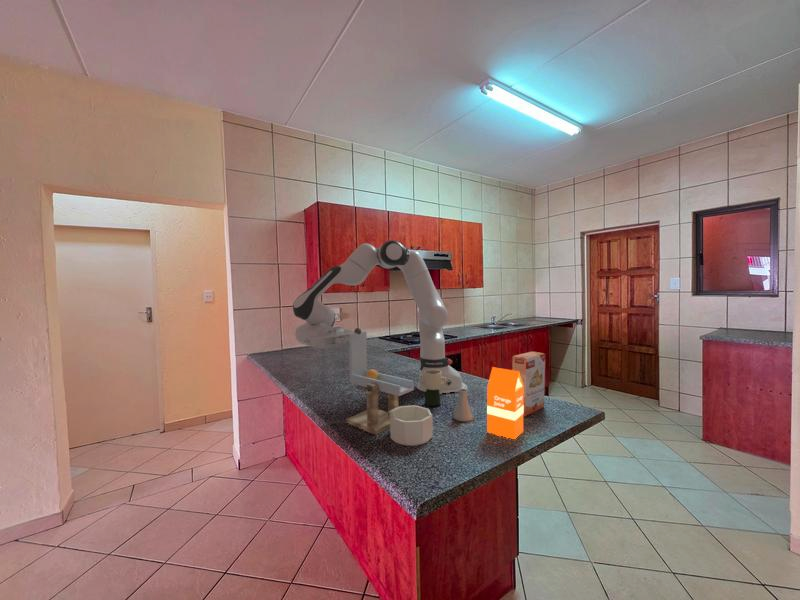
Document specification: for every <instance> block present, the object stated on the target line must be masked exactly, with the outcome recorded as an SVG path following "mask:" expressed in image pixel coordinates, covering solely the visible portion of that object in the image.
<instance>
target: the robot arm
mask: <svg viewBox="0 0 800 600" xmlns="http://www.w3.org/2000/svg"><path fill="white" fill-rule="evenodd" d="M375 267H378V268H381V269H384V270H391V269H394V268H398V269H399V270H400V271H401V272H402V273H403V277H404V280H405V283H406V284H407V285H406V286H407V287H408V290H409V292H410V295H411V296H412V298H413V301H414V303H415V304H416V306H417V309H418V310H417V316H418V317H417V318H418V319H417V320H418V330H419V342H420V344H419V345H420V348H419V349H420V356H419V361H418V362H419V363H418V364H419V365H418V366H419V375H424V371H425V370H429V369H435V370H440V371H441V372H442V377H446V385H445V386H444V385H442V386H441V388H440V389H439V393H440V395H443V394H442V393H446V394H451V393H450V392H455V393H459V391H458V389H467V390H468V385H467V384H466V383H465V382H463V379H462V376H461V374H460V373H459V371H457V370H456V369H455V368H453V367H452V366H451V365H452V364H453V360H451V358H449V357H446V349H445V348H446V346H445V345H446V341H445V340H446V339H445V336H444V331H443V330H444V329H443V327H445V325H446V324H447V323H448V321H449V318H450V317H449V311H448V310H447V307H446V306H445V304H444V302H443V299H442V297H441V296H440V294H439V292H438V291H437V288H436V286H435V284H434V282H433V280H432V277H431V274H430V271H429V269H428V266H427V264H426V263H425V260H424V259H423V257H422V255H421V253H420V252H419V251H417V250H409V249H407V248H406V247H405V246H404V245H403V244H402V243H401V242H400V241H398V240H395V239H392V240H387V241H385V242H384V243H383V244H382V245H380V247H375V246H373V245H372V244H370V243H366V242H365V243H361V244H360V245H359V246H358V247H357V248H356V249H355V250H354V251H353V252H352V253H351V254H350V255H349V256H348V257H347V259H346V260H345V261H344V262H343V263H342V264H340V265H334V266H332V267H331V268H328V270H327V271H325V273H324V274H322V275H321V277H319V278H318V279H317V280H316V281H315V282H314V283H313V284H312V285H311V286H310V287H309V288H308V289H306V291H304V292H303V293H301V295H299V296H298V297H297V298H296V299H295V300H294V301H293V303H292V310H293V314H294V316H295V317H296V318H299V319H300V320H303V321H305V323H303V324H301V325H299V326H297V327H296V329H295V332H294V335H295V338H296V340H297V341H298V342H299V344H302V345H304V346H308V347H310V348H314V349H323V350H329V349H331V348H333V347H335V346H338V345H344V344H345V345H346V344H349V334H351V333H355V332H354V331H355V330H350V329H344V327H342V326H341V327H335V326H334V324H335V322H336V313H335V310H333V309H332V308H330V307H329V306H327V305H326V304H324V303H323V302H321V301H320V300H319V298H320V296H322V295H323V294H324V293H325V292H326V291H327V290H328V289H329V288H330V287H331V286H332V285H334V284H341V285H342V284H343V285H346V286H358V285H360V284H362V283H363V282H364V281H365V280H366V278H367V277H368V276H369V274H370V273H371V272H372V270H373V269H374V268H375ZM422 381H424V378H423V377H422ZM442 383H444V379H442ZM416 389H418V390H419V391H421V392H424V393H426V390H427V389H426V388H424V383H420V382H419V381H417V385H416Z"/></svg>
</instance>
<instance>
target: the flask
mask: <svg viewBox="0 0 800 600" xmlns="http://www.w3.org/2000/svg"><path fill="white" fill-rule="evenodd" d="M458 391H459V392H458V393H459V395H458V399H457V402H456V405H455V408H454V410H453V413H452V417H453V420H456V421H458V422H470V421H473V420H475V418H474V415H473V413H472V411H471V407H470V403H469V400H468V391H469V390H468V388H467V389H458Z"/></svg>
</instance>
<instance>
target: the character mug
mask: <svg viewBox="0 0 800 600" xmlns="http://www.w3.org/2000/svg"><path fill="white" fill-rule="evenodd" d="M422 377H423V378H424V381H422ZM442 379H444V383H442ZM418 382H420V383H424V388H426V389H427V390H426V392H425V396H424V403H425V404H426V406H427V405H428V406H430V407H431V406H432V407H434V406H439V405H441V394H440V393H439V389H440V388H441V386H442V385H444V386H445V385H446V377H442V372H441V371H440V370H435V369H429V370H425V371H424V375H420V374H419V376H418Z"/></svg>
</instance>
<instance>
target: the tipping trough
mask: <svg viewBox="0 0 800 600" xmlns="http://www.w3.org/2000/svg"><path fill="white" fill-rule="evenodd" d="M353 331H354V332H355V333H351V334H349V343H348V346H349V348H348V350H349V352H348V353H349V355H348V358H349V361H348V362H349V365H348V367H349V383H350V384H354V385H356V390H360V391H363V392H367V384H369V383H374V384H378V392H379V391H380V392H383V393H386V394H388V393H390V394H393V395H397V396H398V397H400V396H403V395H405V394H408V393H410V392H412V391H414V390H415V389H414V387H415V386H414V385H415V383H414V381H415V380H412V379H407V378H403V377H399V376H394V375H390V374H385V373H380V372H377V373H378V378H377V379H376V380H375V379H371V378H367V377H366V374H367V372H368V371H369V370H368V357H367V356H368V353H367V352H368V348H367V346H368V345H367V343H368V339H367V336H368V335H367V331H362V329H361V328H360V327H356V328H355V329H354V330H353Z"/></svg>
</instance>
